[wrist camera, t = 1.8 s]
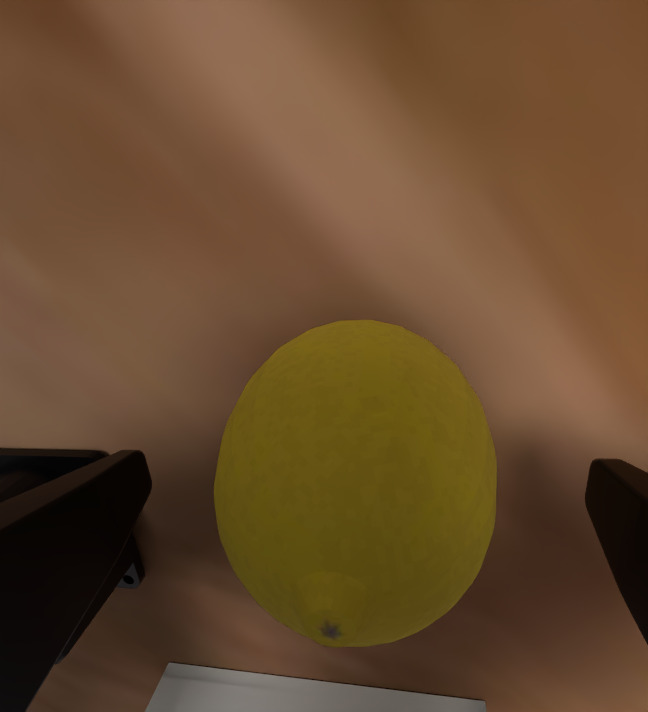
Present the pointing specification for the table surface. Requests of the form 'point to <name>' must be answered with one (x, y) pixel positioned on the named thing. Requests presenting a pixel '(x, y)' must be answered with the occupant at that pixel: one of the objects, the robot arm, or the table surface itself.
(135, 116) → the table surface
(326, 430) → the lemon
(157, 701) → the dish
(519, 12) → the table surface
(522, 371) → the table surface
